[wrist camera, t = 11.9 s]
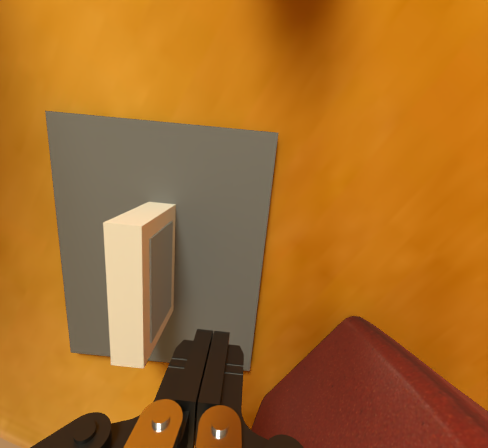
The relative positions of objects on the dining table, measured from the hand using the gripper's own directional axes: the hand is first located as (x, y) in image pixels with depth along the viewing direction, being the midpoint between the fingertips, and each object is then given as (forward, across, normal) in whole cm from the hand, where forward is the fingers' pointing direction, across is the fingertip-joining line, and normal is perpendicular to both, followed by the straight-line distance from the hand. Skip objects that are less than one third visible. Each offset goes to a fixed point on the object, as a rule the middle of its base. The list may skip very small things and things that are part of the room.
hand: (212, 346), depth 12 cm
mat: (+9, +6, 0) cm, 11 cm away
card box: (+9, +5, 0) cm, 10 cm away
